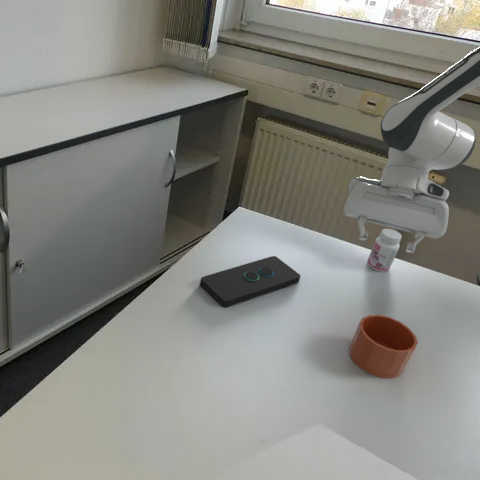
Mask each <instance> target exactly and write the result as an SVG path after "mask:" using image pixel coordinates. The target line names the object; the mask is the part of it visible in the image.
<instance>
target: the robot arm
mask: <svg viewBox="0 0 480 480" xmlns="http://www.w3.org/2000/svg"><path fill="white" fill-rule="evenodd" d="M478 87H480V46H479V47H477V48H476V49H474V50H473V51H470V53H468V54H467V55H465V56H464V57H463V58H461V59H460V60H459V61H457V62H456V63H454V64H453V65H452V66H450V67H449V68H447V69H446V70H445V71H443V72H442V73H441V74H439V75H438V76H437V77H436V78H434V79H433V80H431V81H430V82H429V83H427V84H426V85H424V86H423V87H422V88H421V89H419V90H418V91H416V92H414V93H413V94H411V95H409V96H408V97H406V98H404V99H402V100H400V101H399V102H397V103H395V104H394V105H392V106H391V107H390V108H389V109H388V110H387V111H386V112H385V114H384V115H383V117H382V119H381V122H380V134H381V138H382V141H383V143H384V145H385V146H386V147H388V148H389V149H388V153H387V157H388V159H387V163H386V165H384V168H383V170H382V174H381V178H380V180H377V179H371V178H366V177H364V176H359V177H355V178H353V179H351V180H350V181H349V184H348V189H347V191H348V193H349V195H348V197H347V199H346V201H345V203H344V207H343V210H342V212H343V214H344V216H346V217H348V218H351V219H352V218H353V219H357V222H356V223H357V227H358V230H359V232H360V233H359V236H358V239H359V240H360V241H365V242H366V241H367V240H368V237H369V235H370V231H368V230H366V227H365V224H366V223H367V222H368V223H372V224H375V225H380V226H383V227H387V228H390V229H393V230H399V231H403V232H407V233H410V234H414V240H415V239H416V240H415V241H413V242H407V243H406V245H405V250H404V252H406V253H410V254H413V253H415V251H416V248H417V245H418V244H419V243H420V242H421V241H422V240H424V239H425V238H430V239H432V240H433V239H434V240H437V239H439V238H441V237H443V236H444V235H445V234H446V233H447V230H448V229H447V228H448V225H449V217H450V216H449V215H450V208H449V205H448V203H447V202H446V201H447V199H448V198H449V196H450V190H448V189H447V188H445V187H443V186H441V185H439V184H437V183H436V182H434V181H432V180H430V179H429V173H430V171H432V170H435V171H443V170H444V171H445V170H449V169H454V168H457V167H459V166H461V165H463V164H464V163H466V162H467V161H469V159H470V157H471V156H472V154H473V152H474V150H475V146H476V142H477V135H476V132H475V129H474V128H472V127H470V126H469V125H468V124H466V123H464V122H462V121H460V120H459V119H455V118H454V117H451V116H448V115H447V114H445V113H443V112H441V110H443V109H444V108H446V107H447V106H449V105H450V104H452V103H453V102H454V101H456V100H457V99H459V98H460V97H462V96H463V95H465V94H467V92H470V91H471V90H472V89H475V88H478Z"/></svg>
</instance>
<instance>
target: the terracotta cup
mask: <svg viewBox="0 0 480 480" xmlns="http://www.w3.org/2000/svg"><path fill="white" fill-rule="evenodd" d="M418 342H419V341H418V339H417V336H416V334H415V333H414V332H413V331H412V330H411V328H410V327H408V326H407V325H406V324H404V323H403V322H402V321H399V320H397V319H395V318H392V317H390V316H386V315H382V314H368V315H366V316H364V317H362V318H361V319H360V322H359V323H358V326H357V327H356V329H355V333H354V335H353V337H352V339H351V342H350V344H349V347H348V353H349V357H350V358H351V360H352V362H353V363H354V364H355V365H356V366H357V367H358V368H360V369H361V370H362V371H364V372H366V373H368V374H370V375H372V376H375V377H378V378H383V379H394V378H398V377H399V376H401V375H402V374H403V373H404V371H405V369H406V367H407V366H408V363H409V362H410V360H411V358H412V356H413V354H414V352H415V350H416V348H417V346H418V344H419V343H418Z"/></svg>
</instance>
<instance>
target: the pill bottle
mask: <svg viewBox="0 0 480 480" xmlns="http://www.w3.org/2000/svg"><path fill="white" fill-rule="evenodd" d="M402 237H403V235H402V234H401V233H400V232H399V231H397V230H396V229H393V228H383V229H382V230H381V232H380V233H379V236H378V237H376V238H375V241H374V243H373V246H372V248H371V251H370V253H369V256H368V258H367V260H366V264H367V266H368V267H369V268H371V269H372V270H373V271H377V272H381V273H384V272H388V271H389V270H390V269H391V267H392V265H393V263H394V262H395V261H394V260H395V258H396V257H397V254H398V252H399V249H400V246H401V245H400V242H401V240H402Z"/></svg>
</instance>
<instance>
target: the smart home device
mask: <svg viewBox="0 0 480 480" xmlns="http://www.w3.org/2000/svg"><path fill="white" fill-rule="evenodd" d="M300 280H301V274H300V273H298V272H297V271H296V270H295V269H293V268H292V267H291V266H289V265H288V264H287V263H285V262H284V261H283V260H282V259H280V258H279V257H278V256H276V255H272V256H268V257H265V258H261V259H258V260H255V261H251V262H248V263H244V264H241V265H237V266H234V267H231V268H228V269H225V270H221V271H217V272H214V273H210V274H208V275H205V276H202V277H201V278H200V280H199V286H200V287H201V288H202V289H203V290H204V291H205V292H206V293H207V294H208V295H209V296H210V297H211V298H212V299H213V300H214V301H215V302H217V304H219V306H221V307H222V308H229V307H232V306H234V305H238V304H241V303H244V302H247V301H250V300H252V299H255V298H258V297H261V296H264V295H267V294H270V293H273V292H276V291H279V290H283V289H285V288H289V287H291V286H294V285H296V284H298V283H299V282H300Z"/></svg>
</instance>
